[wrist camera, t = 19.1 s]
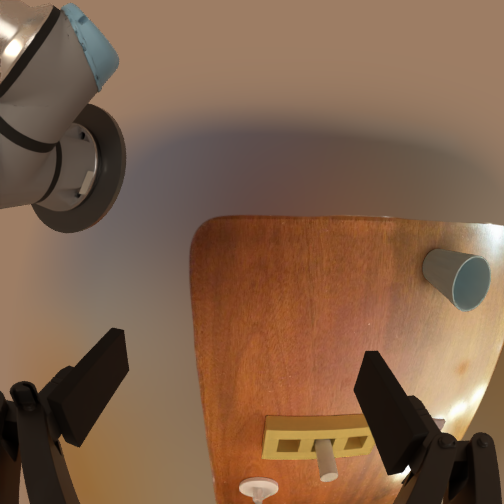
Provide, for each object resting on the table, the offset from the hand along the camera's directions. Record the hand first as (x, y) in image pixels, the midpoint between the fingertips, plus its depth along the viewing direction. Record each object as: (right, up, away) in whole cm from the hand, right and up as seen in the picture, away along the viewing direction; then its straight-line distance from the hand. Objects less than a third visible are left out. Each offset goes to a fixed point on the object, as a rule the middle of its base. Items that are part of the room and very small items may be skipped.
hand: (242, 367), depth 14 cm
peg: (+14, -28, +33) cm, 45 cm away
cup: (+30, +4, +26) cm, 39 cm away
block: (+14, -28, +33) cm, 45 cm away
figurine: (+2, -49, +37) cm, 62 cm away
